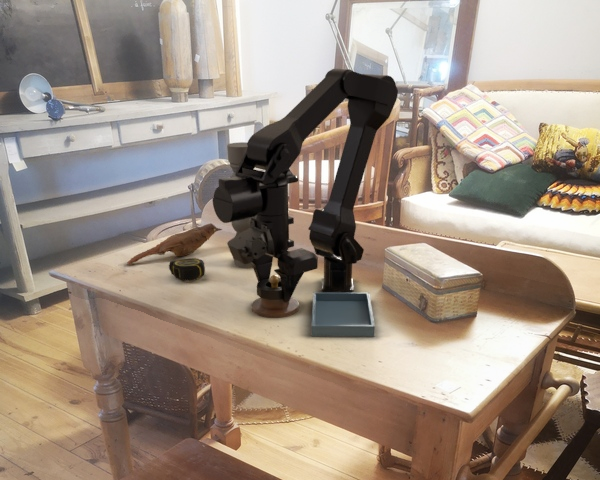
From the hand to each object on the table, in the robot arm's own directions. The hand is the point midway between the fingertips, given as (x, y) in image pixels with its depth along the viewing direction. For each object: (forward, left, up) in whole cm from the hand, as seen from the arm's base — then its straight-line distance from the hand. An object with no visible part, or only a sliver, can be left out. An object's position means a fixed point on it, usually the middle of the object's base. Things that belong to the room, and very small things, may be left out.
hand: (275, 296), depth 112 cm
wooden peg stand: (0, 0, -2) cm, 2 cm away
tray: (+5, +13, -2) cm, 14 cm away
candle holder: (-25, -8, -3) cm, 26 cm away
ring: (0, 0, +1) cm, 1 cm away
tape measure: (-16, -20, -3) cm, 26 cm away
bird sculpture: (-31, -25, -3) cm, 40 cm away
